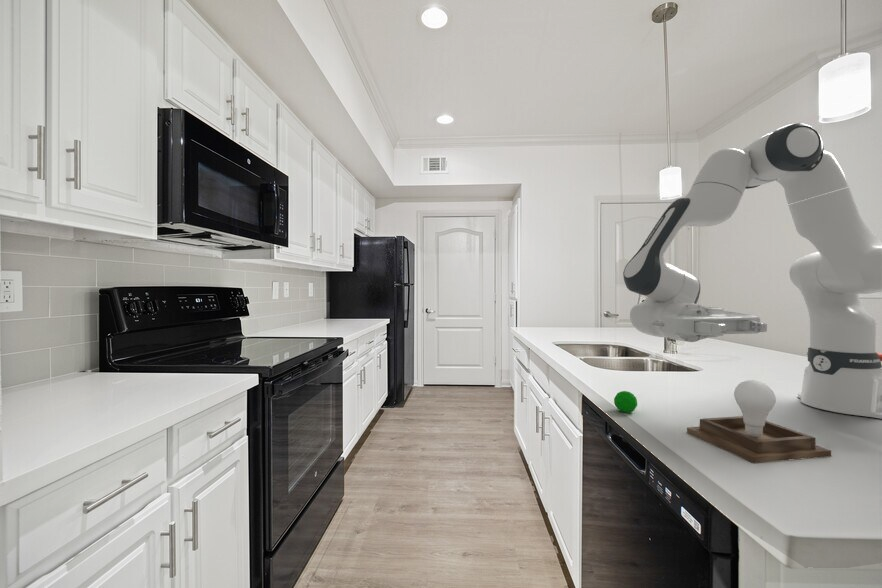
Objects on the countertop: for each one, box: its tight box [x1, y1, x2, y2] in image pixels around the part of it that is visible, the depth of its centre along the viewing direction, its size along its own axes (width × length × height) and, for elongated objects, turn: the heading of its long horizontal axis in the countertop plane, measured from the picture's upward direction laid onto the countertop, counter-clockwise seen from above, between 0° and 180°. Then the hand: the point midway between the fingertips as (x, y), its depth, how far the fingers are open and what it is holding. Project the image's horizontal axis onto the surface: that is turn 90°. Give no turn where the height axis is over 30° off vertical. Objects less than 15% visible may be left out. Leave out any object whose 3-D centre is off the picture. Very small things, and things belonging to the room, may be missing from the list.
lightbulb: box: [733, 379, 777, 439], centre depth 72 cm, size 6×6×11 cm
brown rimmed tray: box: [686, 415, 832, 464], centre depth 73 cm, size 16×14×3 cm
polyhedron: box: [613, 390, 638, 414], centre depth 91 cm, size 5×5×5 cm
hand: (743, 328), depth 75 cm, fingers open, 8 cm apart
